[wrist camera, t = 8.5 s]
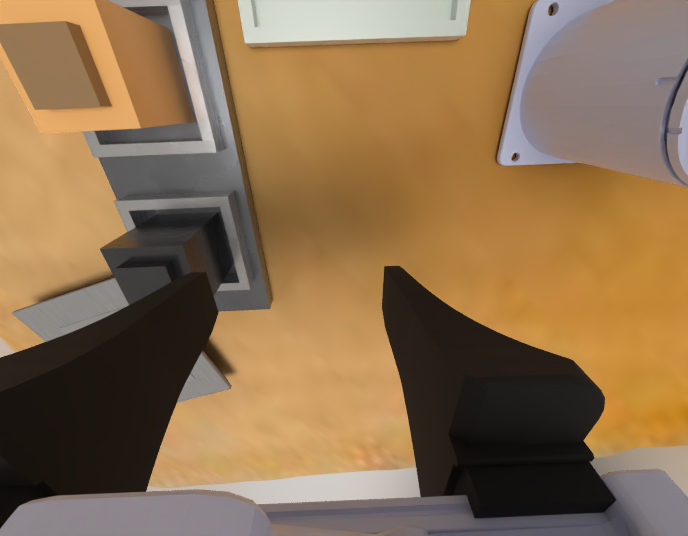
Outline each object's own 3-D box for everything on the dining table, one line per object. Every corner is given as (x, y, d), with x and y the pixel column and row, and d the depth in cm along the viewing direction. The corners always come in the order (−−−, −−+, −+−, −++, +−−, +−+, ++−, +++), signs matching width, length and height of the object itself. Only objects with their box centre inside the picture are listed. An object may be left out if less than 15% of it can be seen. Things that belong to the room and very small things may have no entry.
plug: (168, 28, 14) (77, -14, 9) (194, 122, 16) (131, 129, 11) (85, 32, 14) (-53, -8, 9) (121, 125, 16) (26, 134, 11)
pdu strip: (4, -105, 12) (-307, -304, 6) (191, -111, 12) (58, -312, 6) (175, 304, 23) (121, 372, 17) (272, 299, 23) (252, 365, 17)
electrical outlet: (237, 370, 27) (229, 391, 25) (145, 395, 29) (130, 417, 27) (150, 258, 21) (130, 274, 19) (37, 296, 23) (7, 315, 20)
